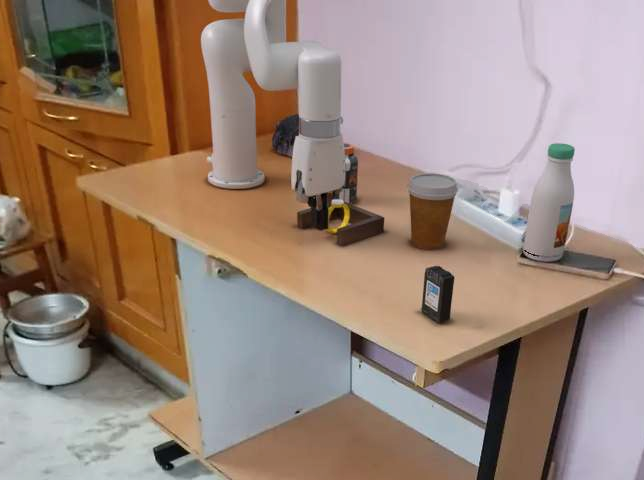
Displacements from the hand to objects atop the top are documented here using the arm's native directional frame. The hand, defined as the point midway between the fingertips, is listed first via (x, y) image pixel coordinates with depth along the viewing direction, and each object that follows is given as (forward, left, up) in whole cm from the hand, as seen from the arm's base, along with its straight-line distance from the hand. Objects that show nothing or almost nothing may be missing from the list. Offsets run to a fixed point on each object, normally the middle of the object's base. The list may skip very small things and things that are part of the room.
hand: (319, 227), depth 163 cm
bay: (-1, +5, -2) cm, 6 cm away
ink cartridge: (+37, -9, -2) cm, 38 cm away
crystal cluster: (-45, +34, -2) cm, 56 cm away
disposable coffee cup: (+15, +14, -2) cm, 21 cm away
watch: (0, +5, -2) cm, 5 cm away
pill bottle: (-13, +18, -2) cm, 22 cm away
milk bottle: (+33, +27, -2) cm, 43 cm away
